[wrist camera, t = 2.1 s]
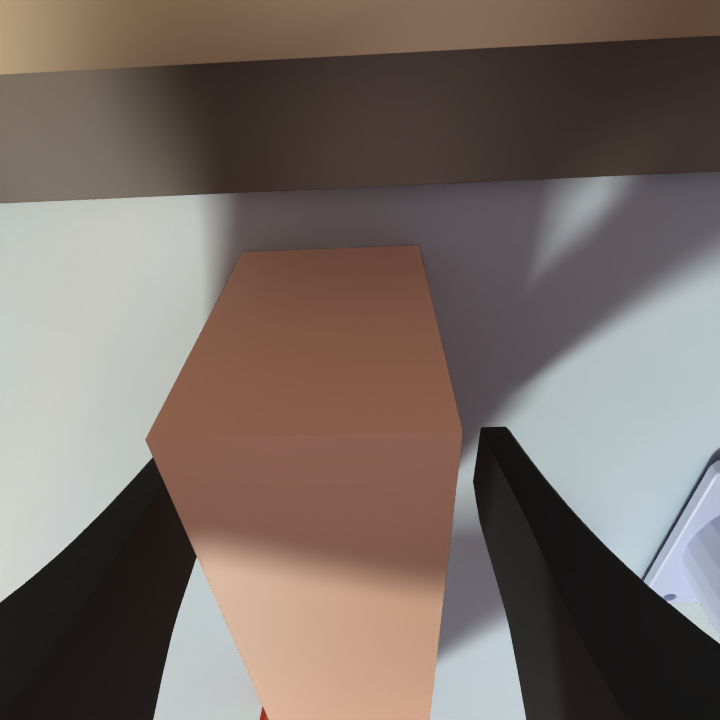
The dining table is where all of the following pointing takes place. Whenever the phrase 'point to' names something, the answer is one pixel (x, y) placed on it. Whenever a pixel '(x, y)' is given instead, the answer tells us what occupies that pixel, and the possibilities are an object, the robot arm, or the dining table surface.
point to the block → (321, 477)
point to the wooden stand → (349, 93)
